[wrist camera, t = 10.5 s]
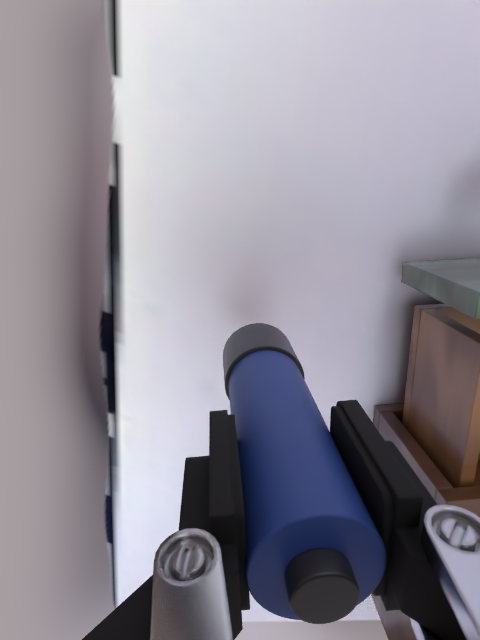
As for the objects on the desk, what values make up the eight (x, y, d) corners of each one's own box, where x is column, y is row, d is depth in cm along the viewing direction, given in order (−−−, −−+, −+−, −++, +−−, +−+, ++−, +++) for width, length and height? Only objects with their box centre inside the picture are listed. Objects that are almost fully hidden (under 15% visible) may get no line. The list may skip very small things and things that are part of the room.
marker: (220, 325, 18) (236, 544, 7) (291, 320, 18) (417, 527, 7) (224, 388, 19) (243, 666, 8) (291, 383, 19) (401, 648, 8)
